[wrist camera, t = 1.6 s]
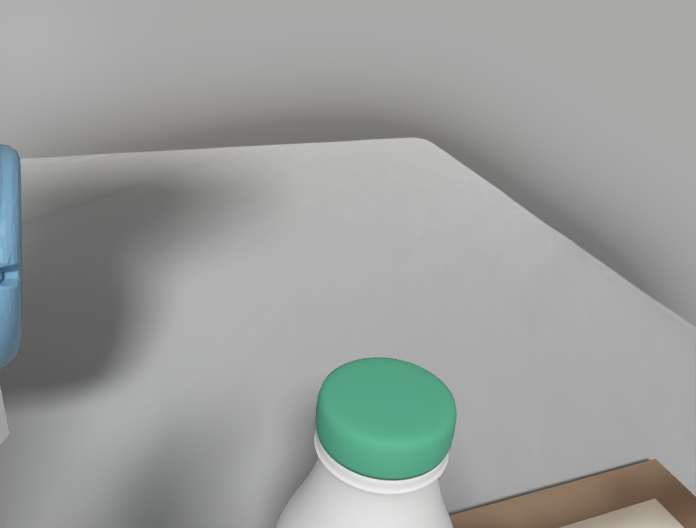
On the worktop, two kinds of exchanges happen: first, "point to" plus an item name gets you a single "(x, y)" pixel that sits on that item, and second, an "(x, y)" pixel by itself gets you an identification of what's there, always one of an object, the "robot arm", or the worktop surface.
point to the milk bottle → (377, 450)
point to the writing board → (595, 503)
